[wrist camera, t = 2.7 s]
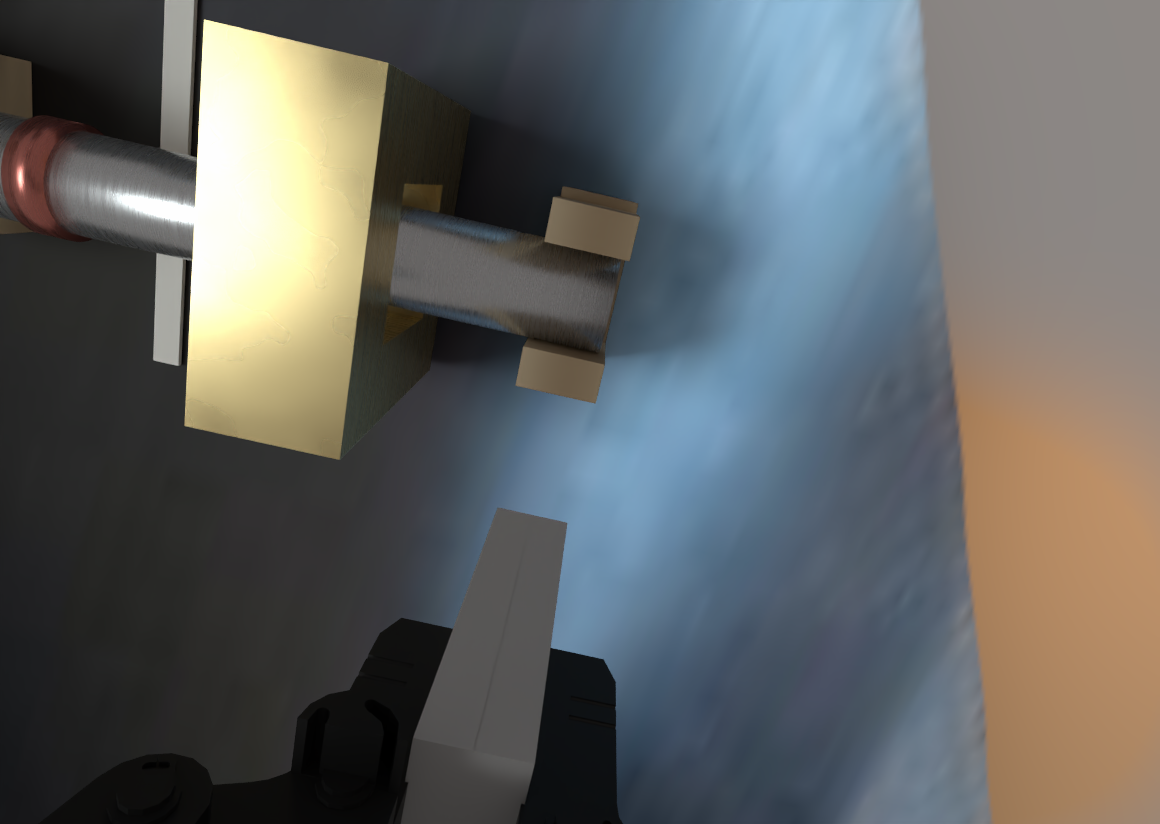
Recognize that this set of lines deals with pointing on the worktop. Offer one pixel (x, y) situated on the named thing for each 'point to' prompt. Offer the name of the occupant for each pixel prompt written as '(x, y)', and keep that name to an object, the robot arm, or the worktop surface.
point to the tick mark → (177, 139)
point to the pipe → (423, 251)
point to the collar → (308, 238)
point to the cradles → (570, 224)
